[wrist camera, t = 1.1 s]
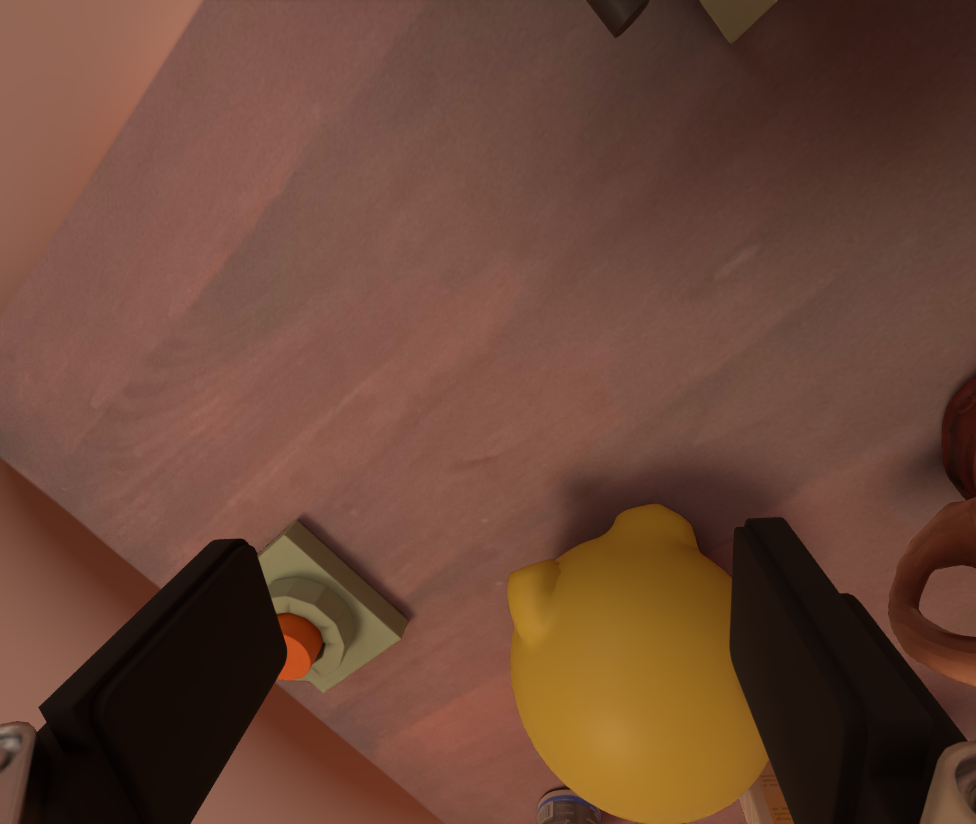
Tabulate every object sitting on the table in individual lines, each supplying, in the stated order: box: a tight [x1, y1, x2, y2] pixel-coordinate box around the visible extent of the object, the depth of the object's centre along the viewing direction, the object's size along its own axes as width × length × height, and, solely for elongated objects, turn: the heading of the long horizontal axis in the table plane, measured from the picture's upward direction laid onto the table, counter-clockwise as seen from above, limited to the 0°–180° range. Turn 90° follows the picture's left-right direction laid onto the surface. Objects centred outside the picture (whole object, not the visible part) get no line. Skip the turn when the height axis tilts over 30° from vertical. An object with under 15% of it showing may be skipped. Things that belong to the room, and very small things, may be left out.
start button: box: [277, 613, 323, 680], centre depth 32 cm, size 4×4×2 cm
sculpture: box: [507, 504, 769, 824], centre depth 27 cm, size 15×13×13 cm
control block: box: [257, 520, 408, 693], centre depth 34 cm, size 10×8×4 cm
